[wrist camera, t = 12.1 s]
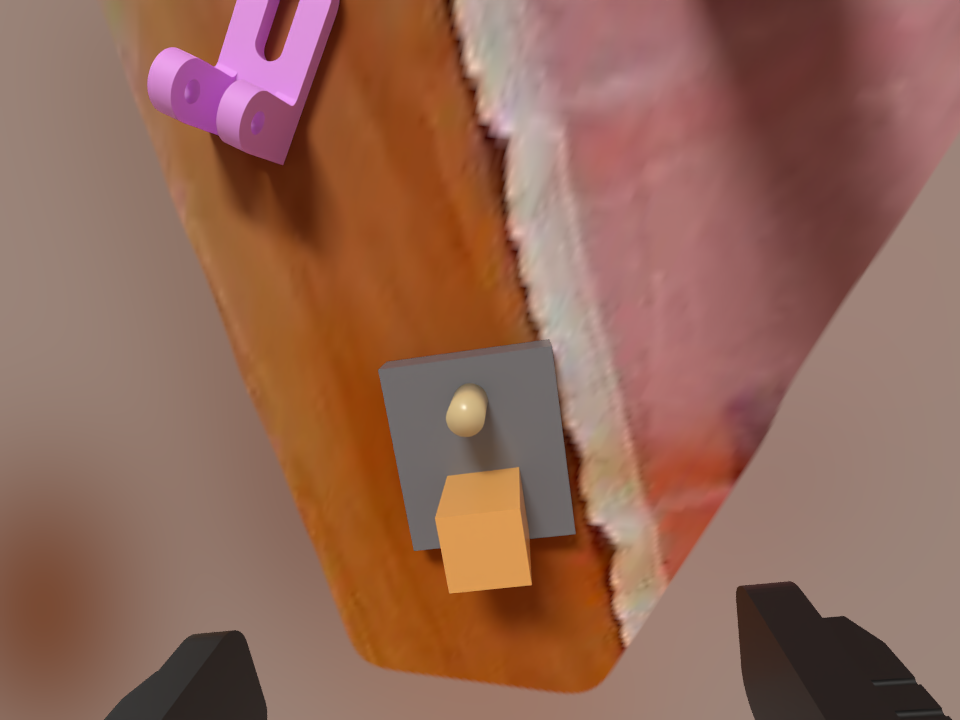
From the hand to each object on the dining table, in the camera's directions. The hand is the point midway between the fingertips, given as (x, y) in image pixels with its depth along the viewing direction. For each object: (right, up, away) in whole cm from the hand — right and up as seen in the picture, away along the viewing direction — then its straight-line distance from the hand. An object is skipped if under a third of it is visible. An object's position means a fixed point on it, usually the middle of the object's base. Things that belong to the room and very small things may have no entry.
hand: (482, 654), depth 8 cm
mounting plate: (0, -1, +31) cm, 31 cm away
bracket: (-13, +25, +27) cm, 39 cm away
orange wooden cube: (+1, -6, +30) cm, 30 cm away
